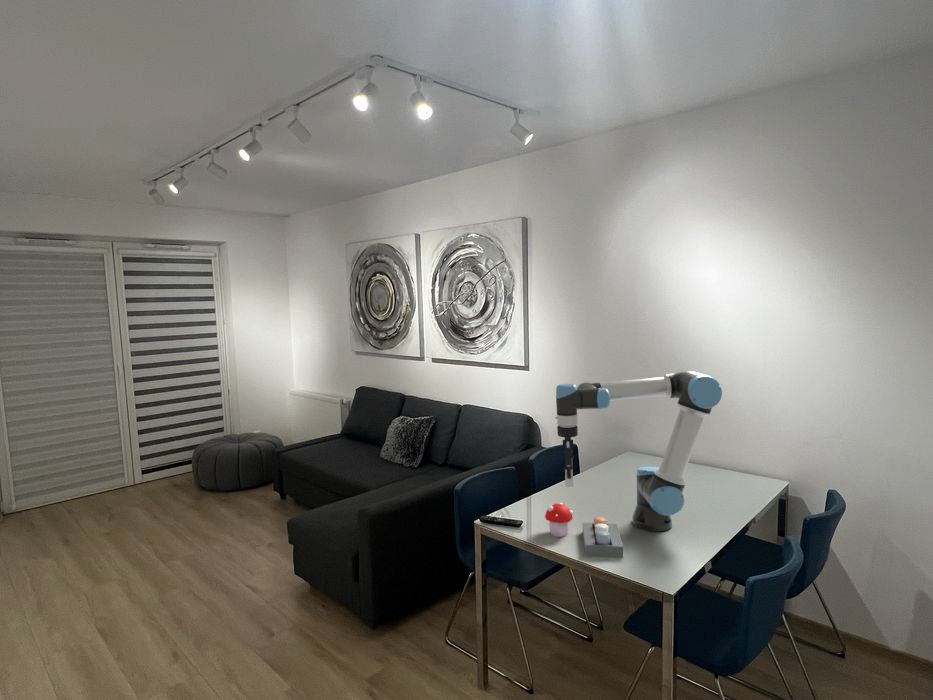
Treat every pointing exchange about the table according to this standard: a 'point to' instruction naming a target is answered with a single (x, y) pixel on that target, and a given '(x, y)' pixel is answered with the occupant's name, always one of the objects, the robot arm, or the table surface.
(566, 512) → the mushroom
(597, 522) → the button terracotta
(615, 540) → the grey button tray
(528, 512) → the table surface
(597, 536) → the button slate
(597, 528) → the button ivory
